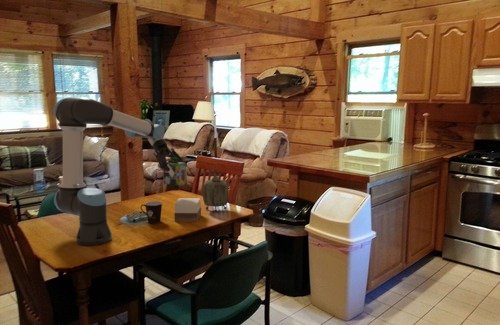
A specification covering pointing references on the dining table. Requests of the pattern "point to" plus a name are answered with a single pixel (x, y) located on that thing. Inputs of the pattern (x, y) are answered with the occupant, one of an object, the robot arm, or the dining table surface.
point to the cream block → (187, 205)
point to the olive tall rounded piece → (215, 192)
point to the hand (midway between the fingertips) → (179, 173)
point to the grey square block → (187, 216)
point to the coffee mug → (153, 211)
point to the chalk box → (176, 173)
